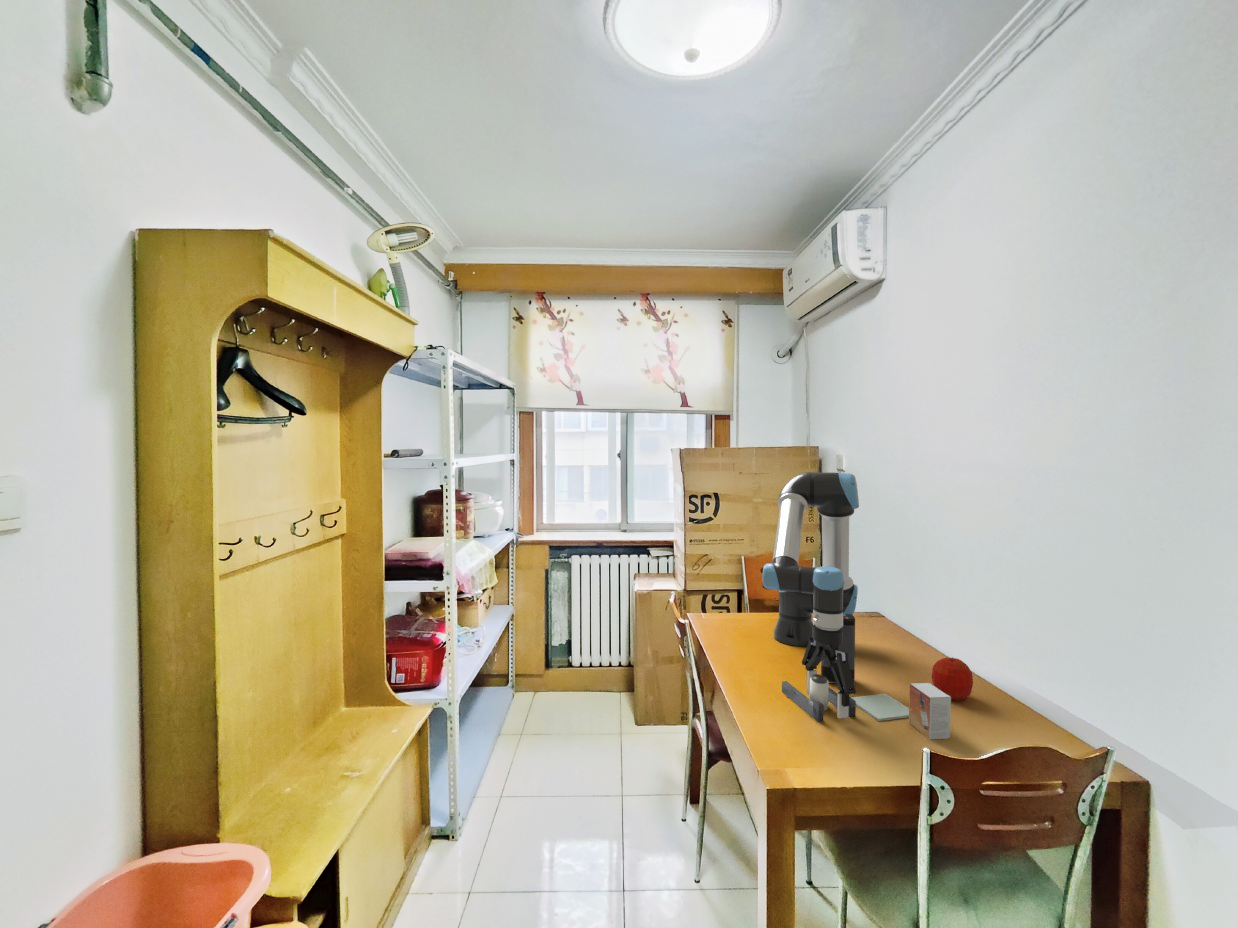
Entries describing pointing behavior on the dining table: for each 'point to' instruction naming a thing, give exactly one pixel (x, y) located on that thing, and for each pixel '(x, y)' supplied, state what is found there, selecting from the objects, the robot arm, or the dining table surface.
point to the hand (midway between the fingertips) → (826, 705)
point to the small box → (930, 710)
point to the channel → (815, 702)
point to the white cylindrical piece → (819, 689)
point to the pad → (882, 707)
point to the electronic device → (844, 648)
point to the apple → (952, 678)
